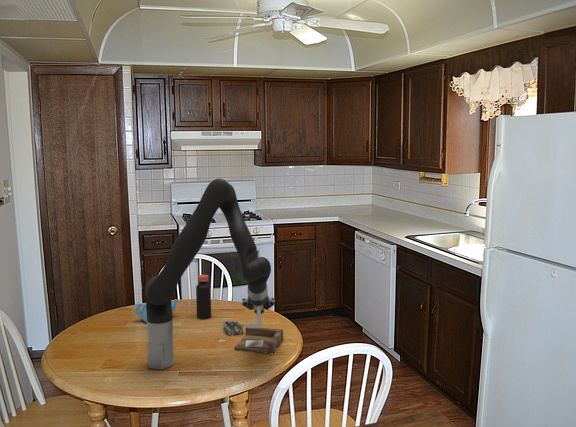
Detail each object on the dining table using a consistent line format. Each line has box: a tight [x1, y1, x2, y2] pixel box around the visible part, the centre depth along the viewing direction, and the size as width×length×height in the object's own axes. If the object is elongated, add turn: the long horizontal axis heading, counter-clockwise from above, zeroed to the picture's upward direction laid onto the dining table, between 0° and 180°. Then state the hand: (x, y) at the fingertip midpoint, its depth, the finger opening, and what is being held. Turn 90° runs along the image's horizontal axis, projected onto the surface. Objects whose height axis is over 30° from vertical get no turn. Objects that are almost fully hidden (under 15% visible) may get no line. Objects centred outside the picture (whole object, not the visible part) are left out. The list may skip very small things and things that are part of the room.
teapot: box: [134, 298, 179, 324], centre depth 242 cm, size 15×15×11 cm
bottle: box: [195, 274, 212, 320], centre depth 244 cm, size 7×7×20 cm
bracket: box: [246, 306, 262, 328], centre depth 210 cm, size 6×5×10 cm
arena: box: [233, 326, 284, 354], centre depth 213 cm, size 16×16×4 cm
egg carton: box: [222, 320, 244, 337], centre depth 227 cm, size 11×8×4 cm
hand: (259, 312), depth 211 cm, fingers closed on bracket, 1 cm apart
